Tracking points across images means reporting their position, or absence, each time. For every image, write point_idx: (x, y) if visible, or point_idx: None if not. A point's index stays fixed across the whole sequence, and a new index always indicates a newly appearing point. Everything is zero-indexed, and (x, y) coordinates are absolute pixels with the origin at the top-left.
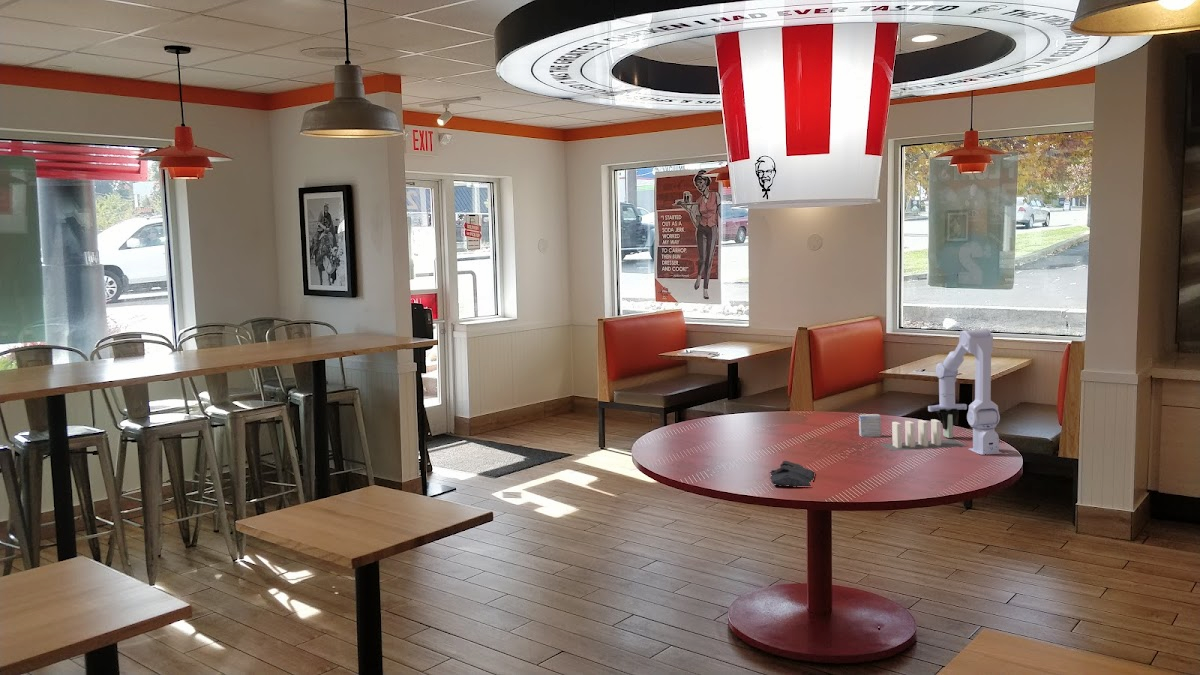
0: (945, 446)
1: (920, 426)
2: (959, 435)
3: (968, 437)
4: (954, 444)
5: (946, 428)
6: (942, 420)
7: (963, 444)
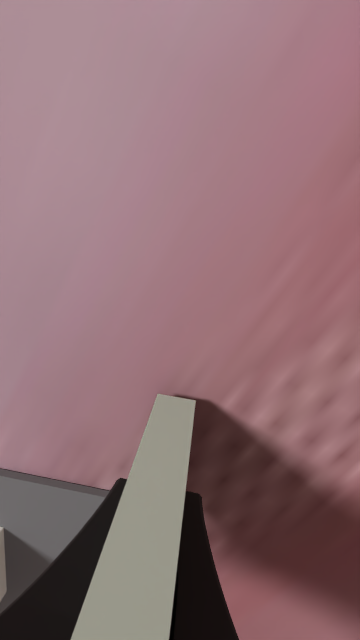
0: None
1: None
2: (350, 369)
3: (353, 467)
4: None
5: None
6: (68, 580)
7: None
